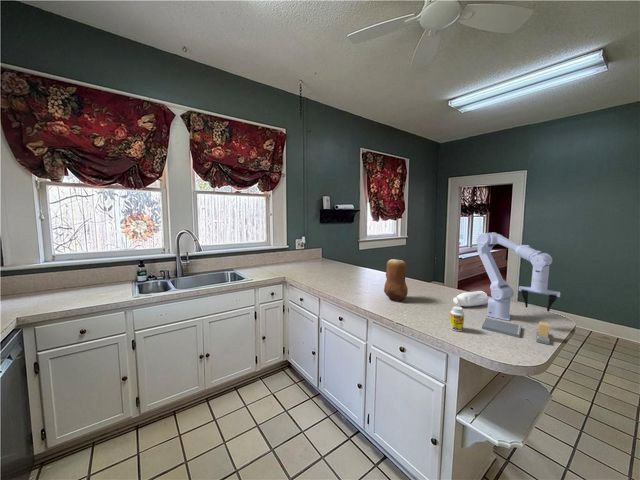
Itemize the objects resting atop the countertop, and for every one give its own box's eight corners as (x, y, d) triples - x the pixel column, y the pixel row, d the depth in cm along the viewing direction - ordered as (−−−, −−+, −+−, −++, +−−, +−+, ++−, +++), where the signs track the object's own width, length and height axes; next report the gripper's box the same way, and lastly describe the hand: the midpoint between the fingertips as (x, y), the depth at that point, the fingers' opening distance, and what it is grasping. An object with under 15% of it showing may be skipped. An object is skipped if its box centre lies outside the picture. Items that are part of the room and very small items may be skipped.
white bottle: (449, 305, 153) (450, 291, 152) (476, 302, 158) (476, 289, 157) (460, 310, 145) (460, 296, 144) (487, 306, 150) (488, 293, 149)
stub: (536, 341, 110) (537, 327, 109) (536, 331, 119) (538, 318, 118) (549, 344, 107) (550, 330, 106) (548, 333, 116) (549, 320, 116)
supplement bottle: (452, 331, 120) (453, 309, 118) (448, 326, 125) (449, 305, 124) (465, 332, 119) (466, 310, 118) (460, 326, 124) (461, 305, 123)
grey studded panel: (481, 328, 122) (482, 325, 122) (486, 320, 131) (486, 317, 131) (519, 337, 113) (519, 334, 113) (521, 328, 122) (521, 325, 122)
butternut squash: (404, 296, 169) (405, 257, 166) (409, 303, 155) (411, 261, 153) (382, 295, 170) (383, 257, 167) (385, 302, 157) (386, 261, 154)
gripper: (519, 279, 121) (516, 307, 123) (561, 284, 112) (558, 315, 114) (520, 276, 127) (517, 303, 128) (560, 281, 117) (557, 310, 119)
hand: (537, 308), depth 121 cm, fingers open, 7 cm apart
